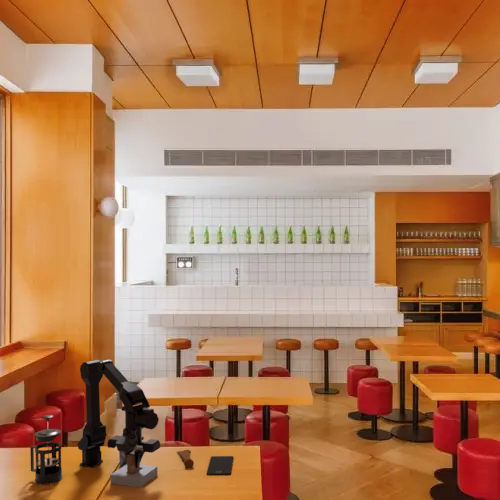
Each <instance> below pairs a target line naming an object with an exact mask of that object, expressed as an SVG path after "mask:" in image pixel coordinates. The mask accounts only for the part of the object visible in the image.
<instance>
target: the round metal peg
mask: <svg viewBox="0 0 500 500" xmlns="http://www.w3.org/2000/svg"><path fill="white" fill-rule="evenodd" d="M118 452H119V453H118V455H119V469H120V468H122V467H123V466H125V465H126V464H127V458H126V456H125V454H124V453H123V452H122V451H118Z"/></svg>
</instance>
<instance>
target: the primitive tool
mask: <svg viewBox="0 0 500 500" xmlns="http://www.w3.org/2000/svg"><path fill="white" fill-rule="evenodd" d="M176 453H177V455H178V456H179V457H180V458H181V460H182V461H183V462H184V464H183V465H184V468H186V469H189V468H190V469H192V468H193V467H194V465H195V463H194V461H193V459H191V450H189V449H185V450H179V451H176Z"/></svg>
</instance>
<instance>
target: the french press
mask: <svg viewBox="0 0 500 500" xmlns="http://www.w3.org/2000/svg"><path fill="white" fill-rule="evenodd" d="M54 417H55V416H54V415H53V414H46V415H45V414H44V415H42V416H41V419H46V422H47V424H46V425H47V427H46V428H47V429H42V430H39V431H37V432H34V436H35V440H36V441H37V442H38V443H40V444H37V445H32V446H31V447H30V450H29V451H30V472H31V473H32V472H33V473H35V475H34V476H35V478H34V482H35V483H36V484H37V485H42V484H45V485H51V484H50V483H52V484H56V483H58V482H60V481H61V480H62V479H63V475H62V474H63V472H62V471H63V470H62V443H60V442H56V441H54V440H55V439H56V437H59V436H60V435H61V433H62V430H60V429H56V428H49V421H50V419H53V418H54ZM45 447H47V449H43V450H42V449H41V448H45ZM50 447H51V449H50ZM34 453H35V457H34ZM50 454H51V457H50ZM57 454H58V455H57ZM46 455H47V457H46ZM57 456H58V457H57ZM34 458H35V459H34ZM34 460H35V461H34ZM55 482H56V483H55Z"/></svg>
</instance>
